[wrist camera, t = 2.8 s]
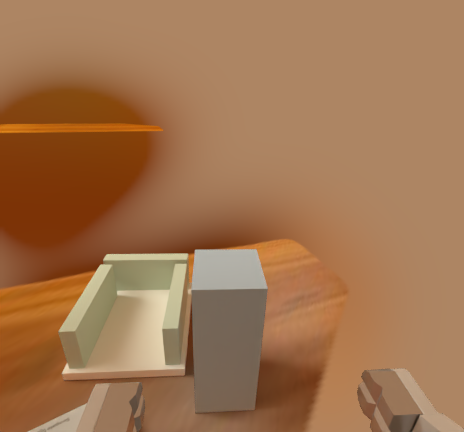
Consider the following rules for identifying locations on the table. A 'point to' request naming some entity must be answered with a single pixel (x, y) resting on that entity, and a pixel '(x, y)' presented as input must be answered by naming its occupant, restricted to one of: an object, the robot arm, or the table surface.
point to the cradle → (130, 319)
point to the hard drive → (63, 422)
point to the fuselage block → (227, 328)
